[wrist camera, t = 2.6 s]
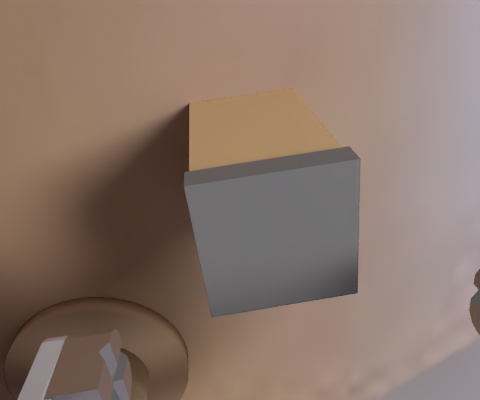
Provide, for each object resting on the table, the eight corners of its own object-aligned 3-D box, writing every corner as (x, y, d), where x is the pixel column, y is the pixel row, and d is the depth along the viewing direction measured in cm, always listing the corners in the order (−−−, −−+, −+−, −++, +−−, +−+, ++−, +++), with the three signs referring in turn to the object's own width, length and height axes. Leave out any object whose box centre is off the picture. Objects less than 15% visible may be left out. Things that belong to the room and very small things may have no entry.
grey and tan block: (186, 101, 16) (184, 186, 10) (294, 85, 16) (360, 158, 10) (204, 196, 18) (211, 317, 12) (299, 181, 18) (357, 293, 12)
